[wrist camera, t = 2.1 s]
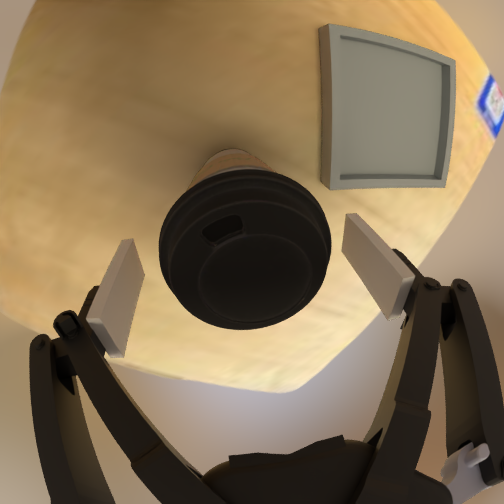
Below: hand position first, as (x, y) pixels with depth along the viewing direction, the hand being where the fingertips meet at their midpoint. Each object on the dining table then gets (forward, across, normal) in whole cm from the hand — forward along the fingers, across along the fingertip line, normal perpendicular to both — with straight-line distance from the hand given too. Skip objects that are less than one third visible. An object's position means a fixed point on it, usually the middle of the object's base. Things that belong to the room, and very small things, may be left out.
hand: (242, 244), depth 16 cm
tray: (+11, +17, +8) cm, 22 cm away
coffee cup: (+12, 0, 0) cm, 12 cm away
